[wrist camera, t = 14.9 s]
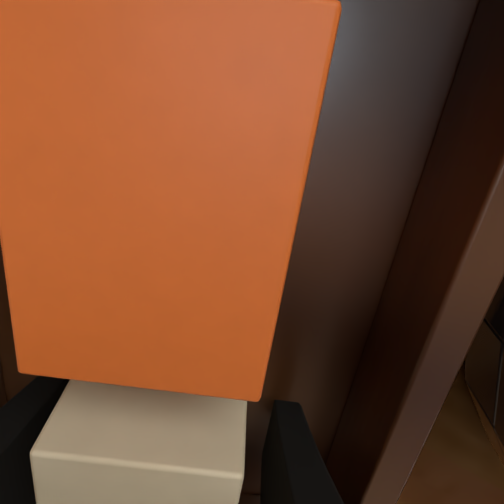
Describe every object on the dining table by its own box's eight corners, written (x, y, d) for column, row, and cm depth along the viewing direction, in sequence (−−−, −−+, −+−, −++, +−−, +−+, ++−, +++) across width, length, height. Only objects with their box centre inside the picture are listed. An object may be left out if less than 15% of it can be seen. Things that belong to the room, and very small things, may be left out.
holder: (329, 500, 14) (346, 612, 11) (4, 464, 14) (-60, 572, 11) (536, -77, 7) (708, -147, 4) (-111, -193, 7) (-370, -353, 4)
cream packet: (226, 462, 13) (212, 631, 9) (110, 448, 12) (49, 615, 9) (250, 324, 10) (245, 477, 7) (109, 306, 10) (26, 453, 7)
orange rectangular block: (260, 268, 10) (259, 404, 6) (108, 247, 9) (15, 375, 6) (304, 16, 7) (345, -1, 4) (106, -16, 7) (-45, -67, 4)
